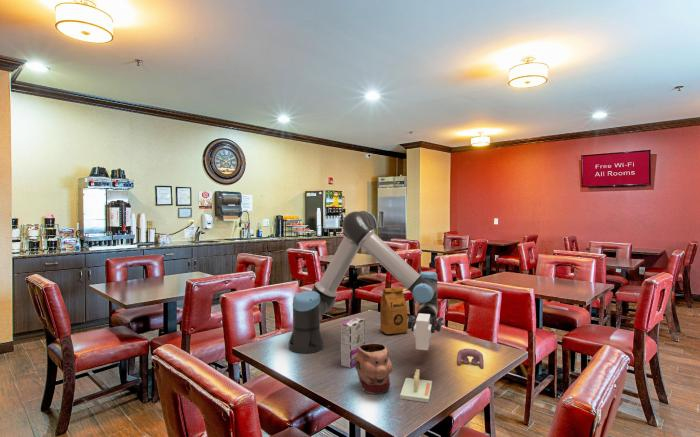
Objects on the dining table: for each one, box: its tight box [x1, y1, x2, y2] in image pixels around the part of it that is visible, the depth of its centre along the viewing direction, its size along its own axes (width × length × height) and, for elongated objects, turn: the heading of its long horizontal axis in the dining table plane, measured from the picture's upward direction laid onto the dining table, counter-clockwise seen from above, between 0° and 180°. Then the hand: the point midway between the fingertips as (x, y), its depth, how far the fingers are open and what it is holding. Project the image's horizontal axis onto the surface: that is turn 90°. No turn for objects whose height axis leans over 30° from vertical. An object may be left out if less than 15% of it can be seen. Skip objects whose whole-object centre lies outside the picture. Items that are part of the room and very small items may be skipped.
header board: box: [399, 368, 433, 403], centre depth 130 cm, size 9×13×6 cm
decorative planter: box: [354, 342, 394, 395], centre depth 133 cm, size 20×12×14 cm, turn 23°
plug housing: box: [415, 313, 431, 351], centre depth 139 cm, size 10×4×10 cm, turn 165°
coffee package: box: [379, 286, 409, 335], centre depth 190 cm, size 10×12×22 cm
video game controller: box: [456, 348, 484, 369], centre depth 152 cm, size 10×5×7 cm, turn 72°
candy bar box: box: [340, 316, 366, 369], centre depth 153 cm, size 11×5×16 cm, turn 148°
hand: (421, 333), depth 134 cm, fingers closed on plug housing, 4 cm apart
